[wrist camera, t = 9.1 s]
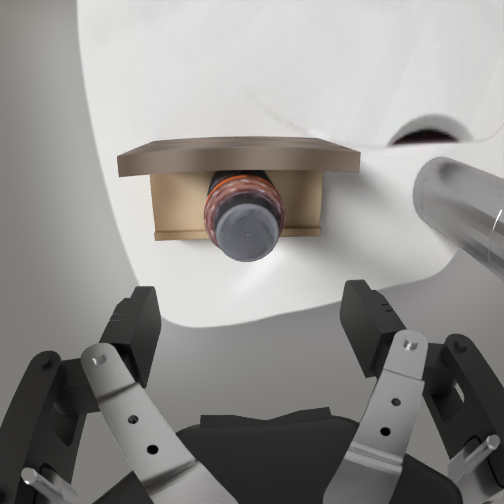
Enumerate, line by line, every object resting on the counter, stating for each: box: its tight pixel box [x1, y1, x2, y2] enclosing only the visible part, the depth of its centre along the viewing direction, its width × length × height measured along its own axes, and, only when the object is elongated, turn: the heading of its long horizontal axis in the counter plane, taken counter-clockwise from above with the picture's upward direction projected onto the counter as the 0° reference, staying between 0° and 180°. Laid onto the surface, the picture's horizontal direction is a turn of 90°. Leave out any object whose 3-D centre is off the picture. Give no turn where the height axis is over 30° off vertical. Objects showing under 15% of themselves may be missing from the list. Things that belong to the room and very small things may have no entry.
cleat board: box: [117, 137, 361, 241], centre depth 26 cm, size 17×10×11 cm, turn 90°
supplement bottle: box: [204, 170, 286, 262], centre depth 24 cm, size 6×6×11 cm
